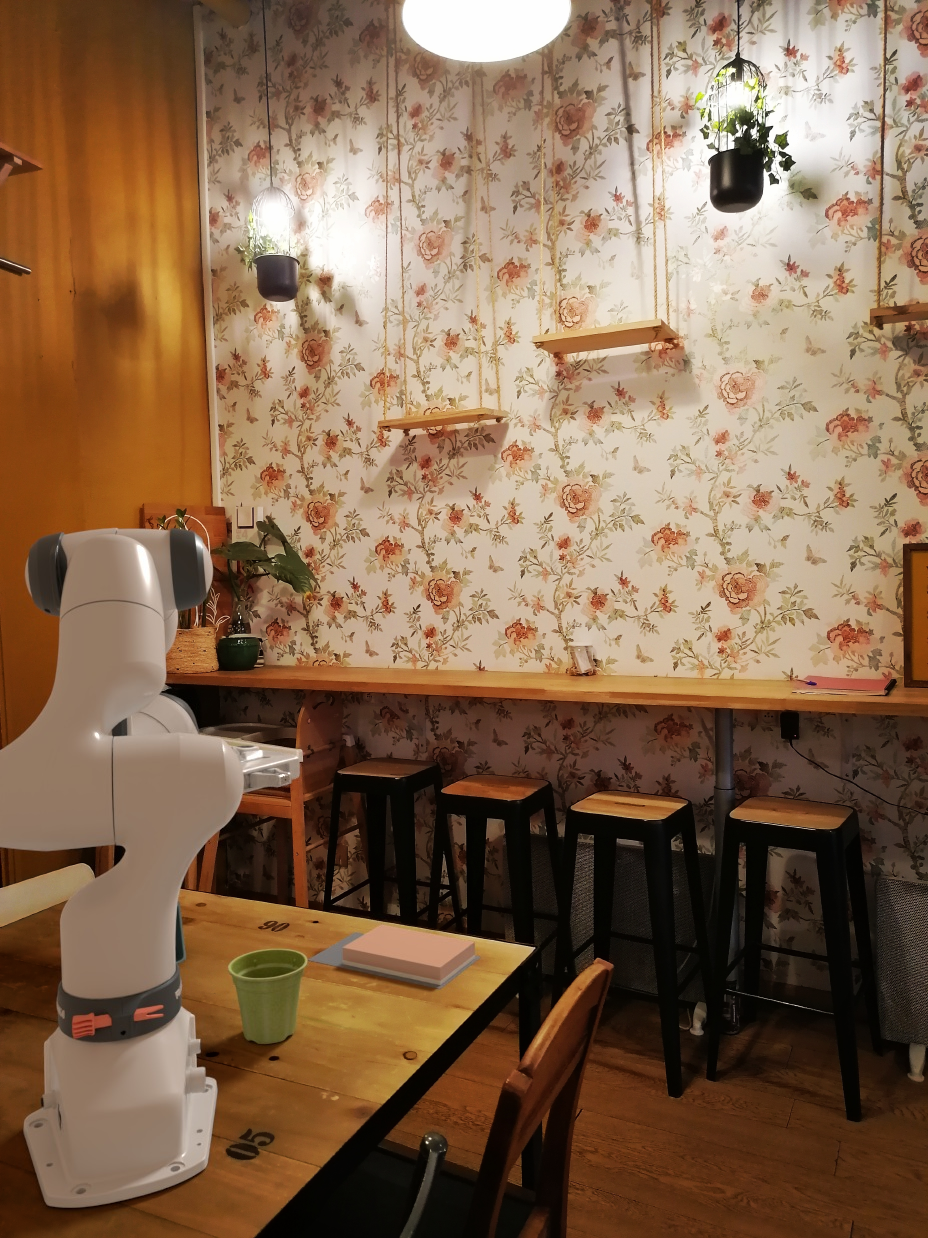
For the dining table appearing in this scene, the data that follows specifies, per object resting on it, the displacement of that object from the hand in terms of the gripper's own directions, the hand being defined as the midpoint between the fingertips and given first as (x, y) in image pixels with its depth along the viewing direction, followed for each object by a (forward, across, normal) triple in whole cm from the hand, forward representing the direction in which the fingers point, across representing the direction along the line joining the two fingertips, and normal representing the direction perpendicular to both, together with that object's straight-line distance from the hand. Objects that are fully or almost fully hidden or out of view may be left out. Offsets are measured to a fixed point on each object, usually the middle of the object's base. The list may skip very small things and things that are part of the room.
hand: (285, 780), depth 143 cm
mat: (+19, 0, +25) cm, 31 cm away
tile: (+14, 0, +23) cm, 27 cm away
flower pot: (-18, -17, +22) cm, 33 cm away
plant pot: (+17, -25, +25) cm, 39 cm away
